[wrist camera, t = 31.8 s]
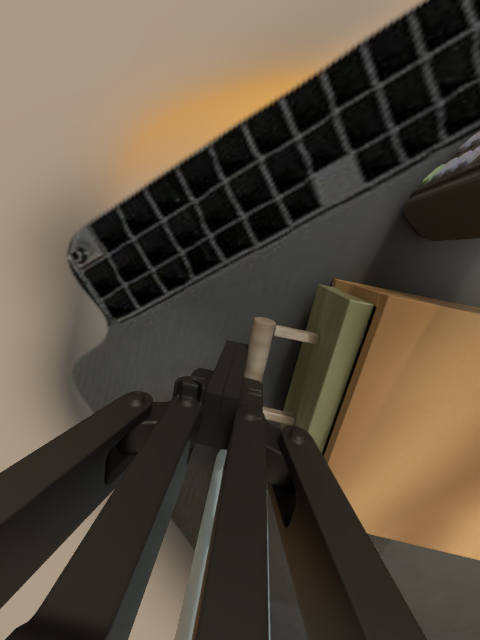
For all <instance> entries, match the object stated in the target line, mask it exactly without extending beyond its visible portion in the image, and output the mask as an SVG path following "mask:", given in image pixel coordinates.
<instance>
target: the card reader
mask: <svg viewBox="0 0 480 640" xmlns="http://www.w3.org/2000/svg"><path fill="white" fill-rule="evenodd" d="M457 152H458V153H457V154H455V155H454V156H453V157H452V158H451V159H450V160H449V161H447V162H446V163H445V164H443V165H440V166H439V167H437V168H436V169H435V170H434V171H433V172H432V173H430V174H429V175H428V176H427V177H426V178H425V179H424V180H423V181H422V182H421V183H422V184H421V185H420V186H419V187H418V188H417V189H416V190H415V191H414V192H412V193H411V195H410V198H409V199H410V200H409V201H408V202H406V204H405V206H404V208H403V212H404V216H405V217H406V219H407V220H408V221H409V222H410V224H411V225H412V226H413V227H414V229H415V230H416V231H417V232H418V234H419V235H421V236H423V237H424V238H426V239H429V240H433V241H441V240H457V239H473V238H480V131H479V132H477V133H476V134H474V135H473V136H472V137H471V138H470V139H469V140H468V141H467V142H465V143H464V144H463V145H462V146H461V147H460V148H459V149H458V150H457Z"/></svg>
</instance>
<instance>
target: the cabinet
mask: <svg viewBox="0 0 480 640" xmlns="http://www.w3.org/2000/svg"><path fill="white" fill-rule="evenodd" d="M331 287H334V288H337V289H339V290H341V291H344V292H346V293H348V294H351V295H353V296H355V297H358V298H360V299H362V300H365V301H367V302H369V303H372V304H374V306H375V307H377V308H376V311H375V313H374V316H373V319H372V322H371V325H370V327H369V330H368V333H367V336H366V339H365V342H364V344H363V347H362V350H361V353H360V356H359V358H358V361H357V364H356V367H355V370H354V372H353V375H352V378H351V381H350V384H349V387H348V389H347V392H346V395H345V398H344V401H343V403H342V406H341V409H340V412H339V415H338V417H337V420H336V423H335V426H334V429H333V431H332V434H331V437H330V440H329V443H328V446H327V448H326V451H325V454H324V459H325V460H326V462H327V464H328V466H329V467H330V469H331V471H332V473H333V474H334V476H335V478H336V480H337V481H338V483H339V485H340V487H341V489H342V490H343V492H344V494H345V496H346V497H347V499H348V501H349V503H350V504H351V506H352V508H353V510H354V512H355V513H356V515H357V517H358V519H359V520H360V522H361V524H362V526H363V527H364V529H365V531H366V533H367V534H371V535H375V536H380V537H384V538H388V539H392V540H396V541H401V542H405V543H409V544H413V545H417V546H422V547H426V548H430V549H434V550H438V551H443V552H447V553H451V554H455V555H459V556H464V557H468V558H472V559H476V560H480V308H477V307H472V306H467V305H463V304H458V303H453V302H448V301H443V300H438V299H433V298H428V297H423V296H418V295H413V294H408V293H404V292H399V291H394V290H389V289H384V288H379V287H374V286H369V285H364V284H359V283H354V282H349V281H345V280H340V279H334V280H333V283H332V286H331Z"/></svg>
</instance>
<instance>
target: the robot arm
mask: <svg viewBox="0 0 480 640" xmlns="http://www.w3.org/2000/svg"><path fill="white" fill-rule="evenodd" d="M247 348H248V345H246V344H242V343H237V342H233V341H228V340H227V342H226V344H225V347H224V349H223V351H222V354H221V356H220V358H219V361H218V363H217V365H216V368H215V370H214V371H211V370H207V369H202V368H199V369H197V370H195V371H194V372H193V373H192V375H191V377H189V376H187V377H181V378H178V379H177V380H176V381H175V386H174V393H173V398H172V400H171V401H168V402H153V398H152V397H151V395H149V394H148V393H145V392H138V391H137V392H136V391H135V392H130V393H127V394H125V395H123V396H121V397H120V398H118V399H116V400H115V401H113V402H112V403H110V404H108V405H107V406H105V407H104V408H102V409H101V410H99V411H97V412H96V413H94V414H93V415H91V416H89V417H88V418H86V419H85V420H83V421H82V422H80V423H78V424H77V425H75V426H74V427H72V428H70V429H69V430H67V431H66V432H64V433H63V434H61V435H59V436H58V437H56V438H55V439H53V440H51V441H50V442H48V443H47V444H45V445H44V446H42V447H40V448H39V449H37V450H36V451H34V452H32V453H31V454H29V455H28V456H27V457H25V458H23V459H21V460H20V461H18V462H17V463H15V464H14V465H12V466H10V467H9V468H7V469H6V470H4V471H2V472H1V473H0V608H2V607H3V606H4V604H5V603H6V602H7V601H8V600H9V599H10V598H11V597H12V596H13V595H14V594H15V593H16V592H17V591H18V590H19V589H20V587H22V586H23V584H24V583H25V582H26V581H27V580H28V579H29V578H30V577H31V576H32V575H33V574H34V573H35V572H36V571H37V570H38V569H39V568H40V567H41V565H42V564H43V563H44V562H45V561H46V560H47V559H48V558H49V557H50V556H51V555H52V554H53V553H54V552H55V551H56V550H57V549H58V548H59V546H60V545H61V544H62V543H63V542H64V541H65V540H66V539H67V538H68V537H69V536H70V535H71V534H72V533H73V532H74V531H75V530H76V529H77V527H79V525H80V524H81V523H82V522H83V521H84V520H85V519H86V518H87V517H88V516H89V515H90V514H91V513H92V512H93V511H94V510H95V508H96V507H98V505H99V504H100V503H101V502H102V501H103V500H104V499H105V498H106V497H107V496H108V495H109V494H110V492H112V491H113V490H114V489H115V490H114V491H113V493H112V494H111V496H110V497H109V499H108V501H107V502H106V504H105V505H104V507H103V509H102V510H101V512H100V513H99V515H98V517H97V518H96V520H95V521H94V523H93V524H92V526H91V527H90V529H89V531H88V533H87V534H86V536H85V537H84V539H83V540H82V542H81V543H80V545H79V546H78V548H77V550H76V551H75V553H74V555H73V556H72V558H71V559H70V561H69V562H68V564H67V566H66V567H65V568H64V570H63V572H62V574H61V575H60V576H59V578H58V580H57V581H56V583H55V584H54V586H53V587H52V589H51V591H50V592H49V594H48V595H47V597H46V598H45V600H44V602H43V603H42V605H41V606H40V608H39V609H38V611H37V612H36V613H35V615H34V616H33V617H32V618H31V619H30V620H29V621H28V622H27V623H25V624H23V625H21V626H19V627H18V628H16V629H15V630H14V631H13V632H12V633H11V634H10V635H9V636H8V637H7V638H6V639H5V640H128V638H129V635H130V632H131V629H132V626H133V624H134V621H135V618H136V615H137V612H138V609H139V606H140V603H141V601H142V598H143V595H144V592H145V589H146V586H147V583H148V581H149V578H150V575H151V572H152V569H153V567H154V564H155V561H156V558H157V555H158V552H159V549H160V547H161V544H162V541H163V538H164V535H165V532H166V529H167V527H168V524H169V521H170V518H171V515H172V512H173V510H174V507H175V504H176V501H177V498H178V495H179V492H180V490H181V487H182V484H183V481H184V478H185V475H186V472H187V470H188V467H189V464H190V461H191V458H192V455H193V453H194V447H195V442H196V439H197V442H196V443H198V444H202V445H206V446H211V447H215V448H219V449H223V450H227V454H226V458H225V463H224V467H223V472H222V473H223V474H222V479H221V485H220V490H219V495H218V501H217V506H216V511H215V517H214V522H213V528H212V533H211V538H210V544H209V549H208V554H207V560H206V565H205V570H204V576H203V581H202V586H201V592H200V597H199V602H198V608H197V613H196V618H195V624H194V629H193V634H192V640H269V618H268V550H267V485H268V490H269V494H270V497H271V501H272V505H273V509H274V513H275V516H276V520H277V524H278V528H279V531H280V535H281V539H282V543H283V546H284V550H285V554H286V558H287V562H288V565H289V569H290V573H291V577H292V580H293V584H294V588H295V592H296V595H297V599H298V603H299V607H300V611H301V614H302V618H303V622H304V626H305V629H306V633H307V637H308V640H427V639H426V637H425V635H424V633H423V632H422V630H421V628H420V626H419V625H418V623H417V621H416V619H415V618H414V616H413V614H412V612H411V610H410V609H409V607H408V605H407V603H406V602H405V600H404V598H403V596H402V595H401V593H400V591H399V589H398V587H397V586H396V584H395V582H394V580H393V579H392V577H391V575H390V573H389V572H388V570H387V568H386V566H385V565H384V563H383V561H382V559H381V557H380V556H379V554H378V552H377V550H376V549H375V547H374V545H373V543H372V542H371V540H370V538H369V536H368V534H367V533H366V531H365V529H364V527H363V526H362V524H361V522H360V520H359V519H358V517H357V515H356V513H355V512H354V510H353V508H352V506H351V504H350V503H349V501H348V499H347V497H346V496H345V494H344V492H343V490H342V489H341V487H340V485H339V483H338V481H337V480H336V478H335V476H334V474H333V473H332V471H331V469H330V467H329V466H328V464H327V462H326V460H325V459H324V457H323V455H322V453H321V451H320V450H319V448H318V446H317V444H316V443H315V441H314V439H313V437H312V436H311V435H310V434H309V433H308V432H307V431H306V430H304V429H302V428H300V427H298V426H293V425H289V426H286V427H284V428H283V429H282V430H279V429H277V428H275V427H273V426H272V425H270V424H269V423H268V422H267V421H266V418H265V415H264V413H263V386H262V384H261V382H260V381H259V380H255V379H250V378H246V377H243V373H244V367H245V361H246V355H247ZM266 481H267V483H266Z"/></svg>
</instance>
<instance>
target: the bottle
mask: <svg viewBox="0 0 480 640" xmlns="http://www.w3.org/2000/svg"><path fill="white" fill-rule="evenodd" d="M226 454H227V450H223V449H221V450H220V451H219V452H218V454H217V456H216V460H215V465H214V469H213V474H212V478H211V482H210V487H209V491H208V496H207V500H206V504H205V509H204V513H203V518H202V522H201V526H200V531H199V535H198V540H197V544H196V548H195V553H194V557H193V562H192V566H191V570H190V575H189V580H188V584H187V588H186V592H185V597H184V601H183V606H182V610H181V614H180V619H179V623H178V628H177V633H176V636H175V640H192V634H193V629H194V624H195V618H196V613H197V608H198V602H199V597H200V592H201V586H202V581H203V576H204V570H205V565H206V560H207V554H208V549H209V544H210V538H211V533H212V528H213V522H214V517H215V511H216V506H217V501H218V495H219V490H220V485H221V479H222V474H223V473H222V472H223V467H224V463H225V458H226ZM266 483H267V481H266ZM267 550H268V511H267ZM268 618H269V640H270V601H269V556H268Z"/></svg>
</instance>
